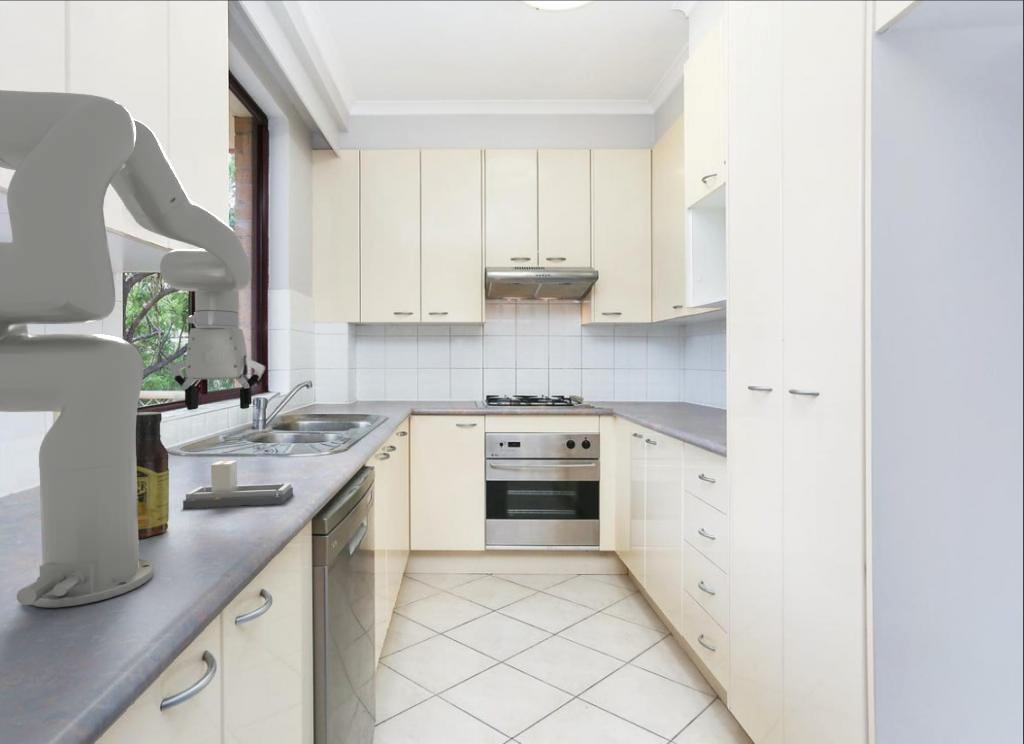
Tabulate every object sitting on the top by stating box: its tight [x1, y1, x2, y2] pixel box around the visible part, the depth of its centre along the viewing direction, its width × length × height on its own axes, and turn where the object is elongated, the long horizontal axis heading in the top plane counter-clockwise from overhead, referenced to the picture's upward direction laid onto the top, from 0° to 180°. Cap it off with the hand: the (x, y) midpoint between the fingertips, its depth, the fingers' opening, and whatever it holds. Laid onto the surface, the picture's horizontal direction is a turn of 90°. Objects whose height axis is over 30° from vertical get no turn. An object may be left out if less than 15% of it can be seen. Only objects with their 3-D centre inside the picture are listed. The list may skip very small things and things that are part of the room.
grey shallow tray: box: [182, 482, 294, 509], centre depth 108 cm, size 8×18×2 cm, turn 98°
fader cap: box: [210, 460, 238, 492], centre depth 107 cm, size 4×4×6 cm
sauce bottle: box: [136, 411, 170, 539], centre depth 87 cm, size 6×6×20 cm
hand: (218, 408), depth 106 cm, fingers open, 9 cm apart
